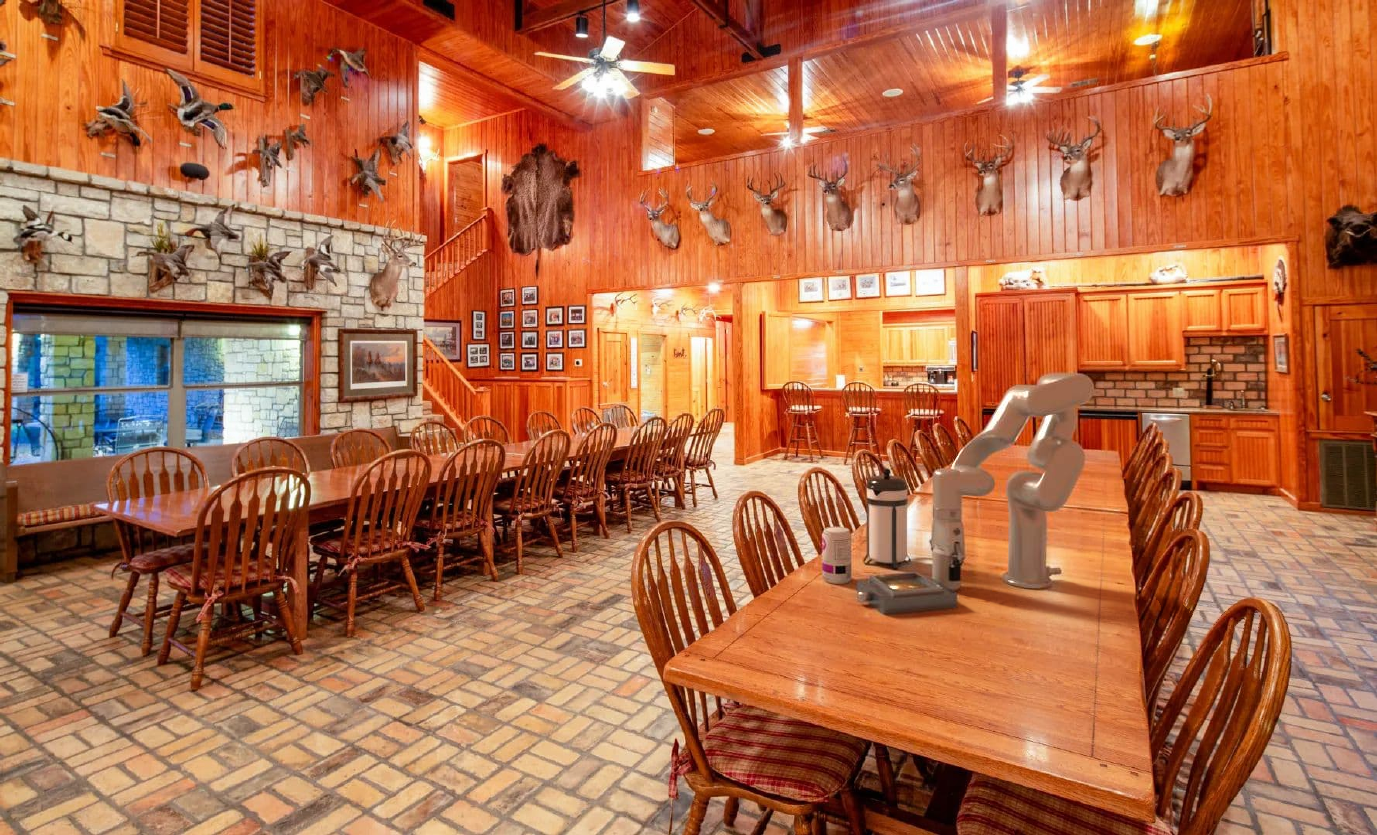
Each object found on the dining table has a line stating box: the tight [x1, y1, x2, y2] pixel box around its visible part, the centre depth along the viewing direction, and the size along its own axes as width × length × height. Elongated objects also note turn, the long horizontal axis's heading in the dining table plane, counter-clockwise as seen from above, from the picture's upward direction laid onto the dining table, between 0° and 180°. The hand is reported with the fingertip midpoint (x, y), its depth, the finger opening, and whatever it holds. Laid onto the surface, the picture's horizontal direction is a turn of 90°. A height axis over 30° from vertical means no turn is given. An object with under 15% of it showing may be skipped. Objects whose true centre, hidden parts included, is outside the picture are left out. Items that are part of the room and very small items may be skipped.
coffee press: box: [862, 467, 912, 570], centre depth 211 cm, size 17×16×30 cm
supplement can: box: [821, 526, 852, 585], centre depth 195 cm, size 8×8×15 cm
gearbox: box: [856, 571, 958, 616], centre depth 178 cm, size 23×16×5 cm
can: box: [931, 544, 962, 591], centre depth 187 cm, size 8×8×12 cm
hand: (946, 575), depth 187 cm, fingers closed on can, 7 cm apart
